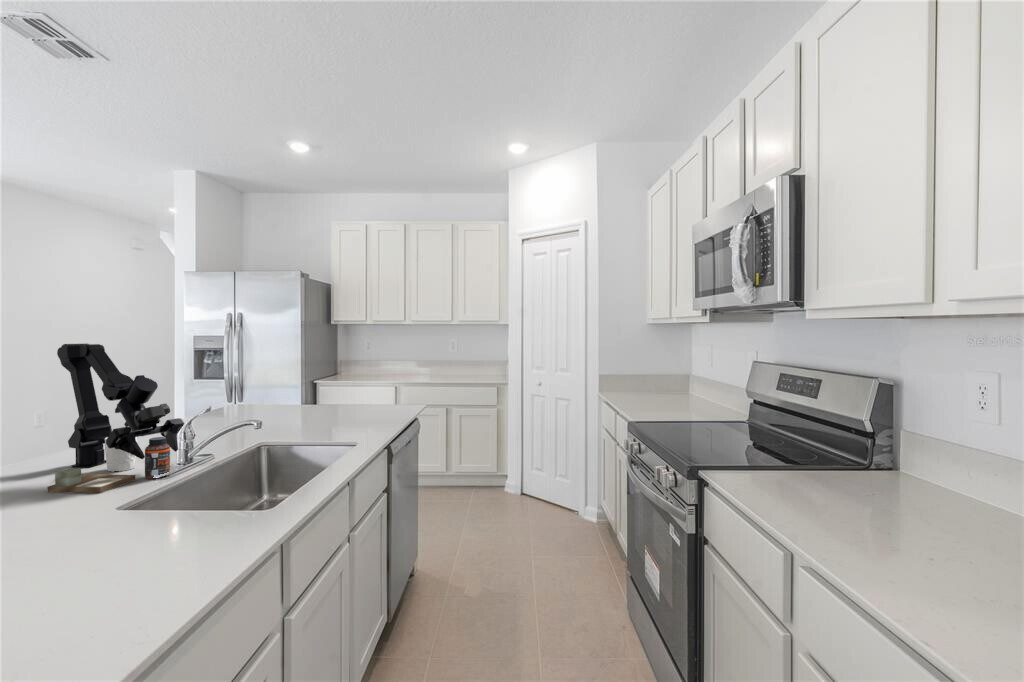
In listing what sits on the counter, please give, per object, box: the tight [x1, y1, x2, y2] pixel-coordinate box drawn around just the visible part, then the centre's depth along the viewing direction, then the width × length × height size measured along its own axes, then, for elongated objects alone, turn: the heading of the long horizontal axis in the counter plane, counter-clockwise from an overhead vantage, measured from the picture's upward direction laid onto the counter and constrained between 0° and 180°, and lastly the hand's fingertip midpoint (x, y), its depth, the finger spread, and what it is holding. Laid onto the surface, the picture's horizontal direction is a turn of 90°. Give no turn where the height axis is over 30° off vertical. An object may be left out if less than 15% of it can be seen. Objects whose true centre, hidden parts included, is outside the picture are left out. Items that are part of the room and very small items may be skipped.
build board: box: [46, 467, 136, 494], centre depth 130 cm, size 14×11×5 cm
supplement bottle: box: [144, 436, 171, 480], centre depth 139 cm, size 6×6×11 cm
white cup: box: [104, 437, 138, 473], centre depth 146 cm, size 8×8×10 cm
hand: (160, 454), depth 138 cm, fingers open, 9 cm apart
